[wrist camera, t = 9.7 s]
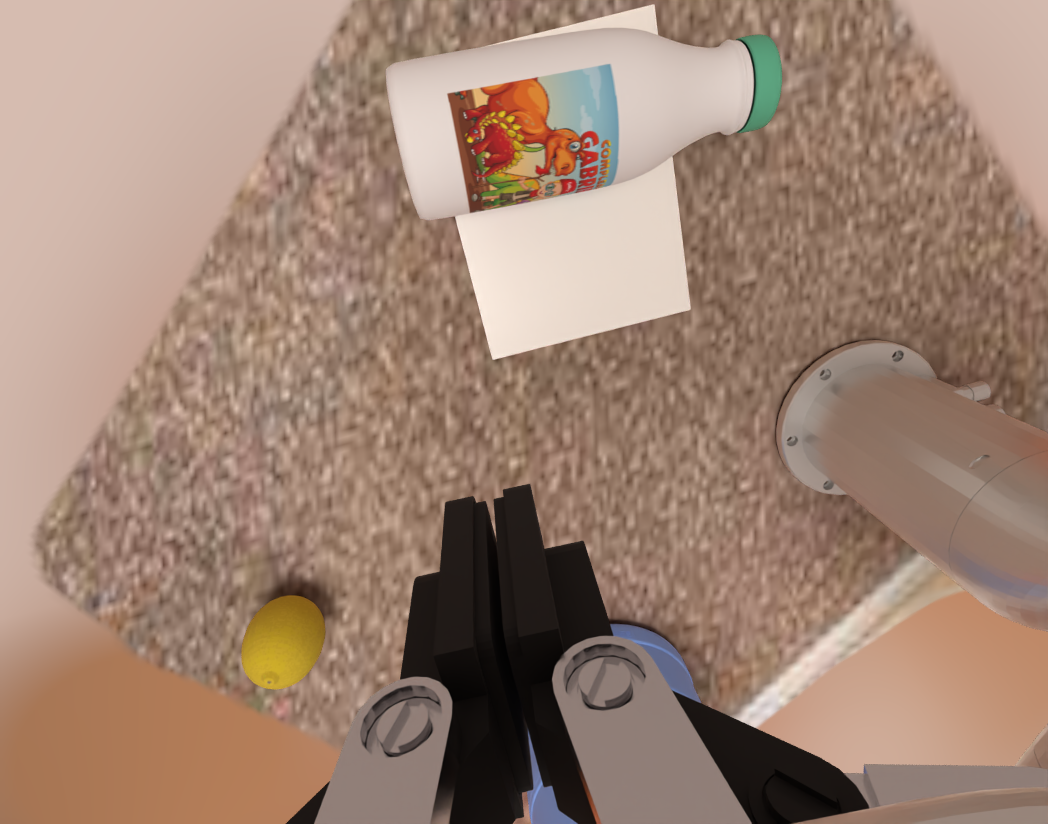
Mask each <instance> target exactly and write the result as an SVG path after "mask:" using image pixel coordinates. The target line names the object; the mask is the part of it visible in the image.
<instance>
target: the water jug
mask: <svg viewBox="0 0 1048 824" xmlns="http://www.w3.org/2000/svg"><path fill="white" fill-rule="evenodd" d="M610 626H611V629H612V632H613V635H614V636H617V637H621V638H625V639H628V640H631V641H633V642H635V643H636V644H638V645H640V646H641V647H643V648H644V649H645V650H646V651H647V653H648V654H649V655H650V656H651V657H652V659H653V660H654V662H655V664H656V665H657V667H658V669H659V670H660V672H661V674H662V675H663V677H664V678H665V680H666V682H667V683H668V685H669V687H670V688H671V690H673V691H675V692H677V693H679V694H682V695H684V696H686V697H688V698H690V699H693V700H695V701H697V702H699V703H701V701H700V699H699V697H698V695H697V693H696V691H695V688H694V686H693V682H692V678H691V676H690V673H689V671H688V669H687V667H686V665H685V663H684V661H683V659H682V657H681V655H680V654H679V653H678V651H677V650H676V649H675V648H674V647H673V646H672V645H671V644H670V643H669V642H668V641H667V640H665V639H664V638H663V637H661V636H659V635H658V634H656V633H654V632H652V631H649V630H647V629H644V628H641V627H637V626H632V625H625V624H610ZM528 737H529V746H530V756H531V765H532V775H533V790H531V791H527V795H528V804H529V813H530V819H531V824H578V823H576V822H575V821H573V820H572V819H570V818H569V817H568V816H566V815H565V814H563V813H562V812H560V811H559V810H558V807H557V803H556V799H555V795H554V792H553V788H552V786H549V787H545V788H544V786H543V783H542V780H541V776H540V772H539V768H538V765H537V761H536V757H535V754H534V750H533V746H532V743H531V739H530V735H529V732H528Z"/></svg>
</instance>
